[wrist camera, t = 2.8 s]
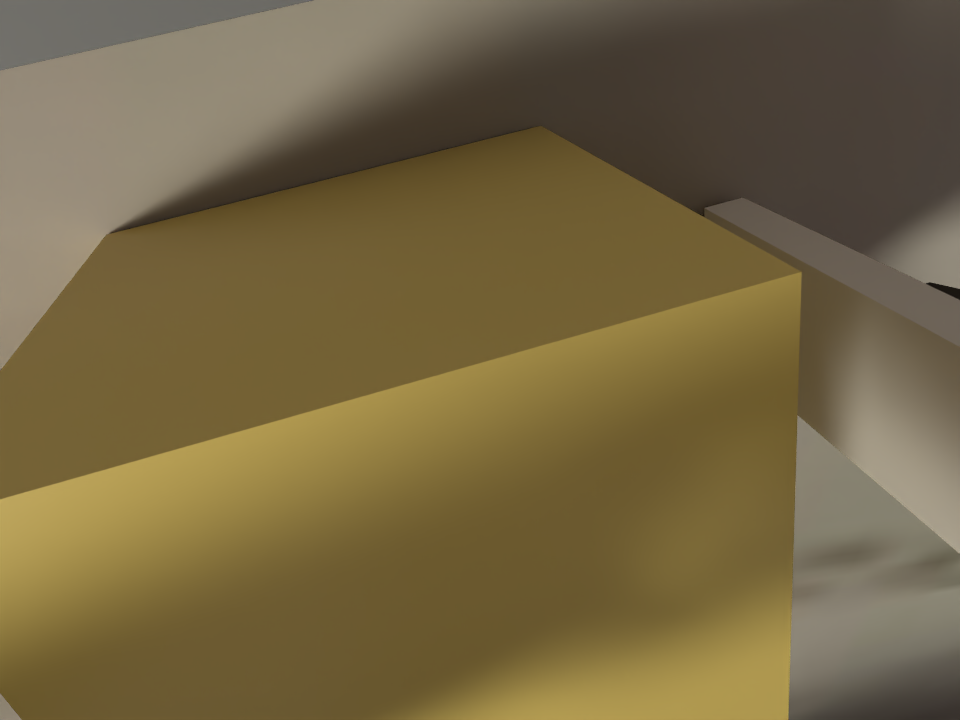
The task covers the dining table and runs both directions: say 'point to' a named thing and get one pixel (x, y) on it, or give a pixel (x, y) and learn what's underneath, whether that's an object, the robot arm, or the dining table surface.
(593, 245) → the mustard yellow cube
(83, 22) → the board
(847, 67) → the dining table surface
